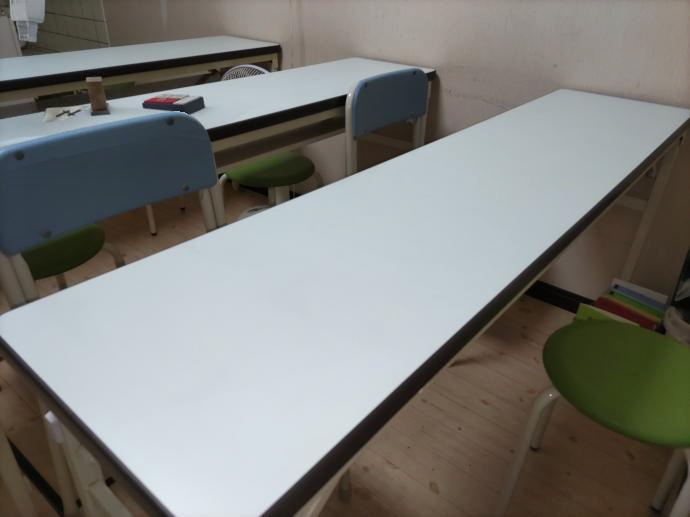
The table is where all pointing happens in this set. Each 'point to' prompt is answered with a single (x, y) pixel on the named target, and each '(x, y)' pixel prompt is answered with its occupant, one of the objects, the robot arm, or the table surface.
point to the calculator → (175, 103)
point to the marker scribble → (68, 112)
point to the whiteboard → (52, 112)
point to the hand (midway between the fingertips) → (27, 41)
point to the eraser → (97, 96)
